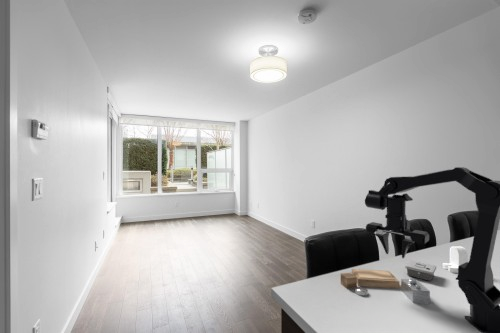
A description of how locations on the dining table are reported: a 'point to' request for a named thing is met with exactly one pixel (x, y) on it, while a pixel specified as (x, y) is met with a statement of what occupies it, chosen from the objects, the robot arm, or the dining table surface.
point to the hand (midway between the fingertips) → (395, 255)
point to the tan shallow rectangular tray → (375, 278)
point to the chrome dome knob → (361, 291)
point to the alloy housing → (415, 291)
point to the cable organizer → (456, 258)
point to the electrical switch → (420, 270)
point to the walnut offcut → (348, 280)
